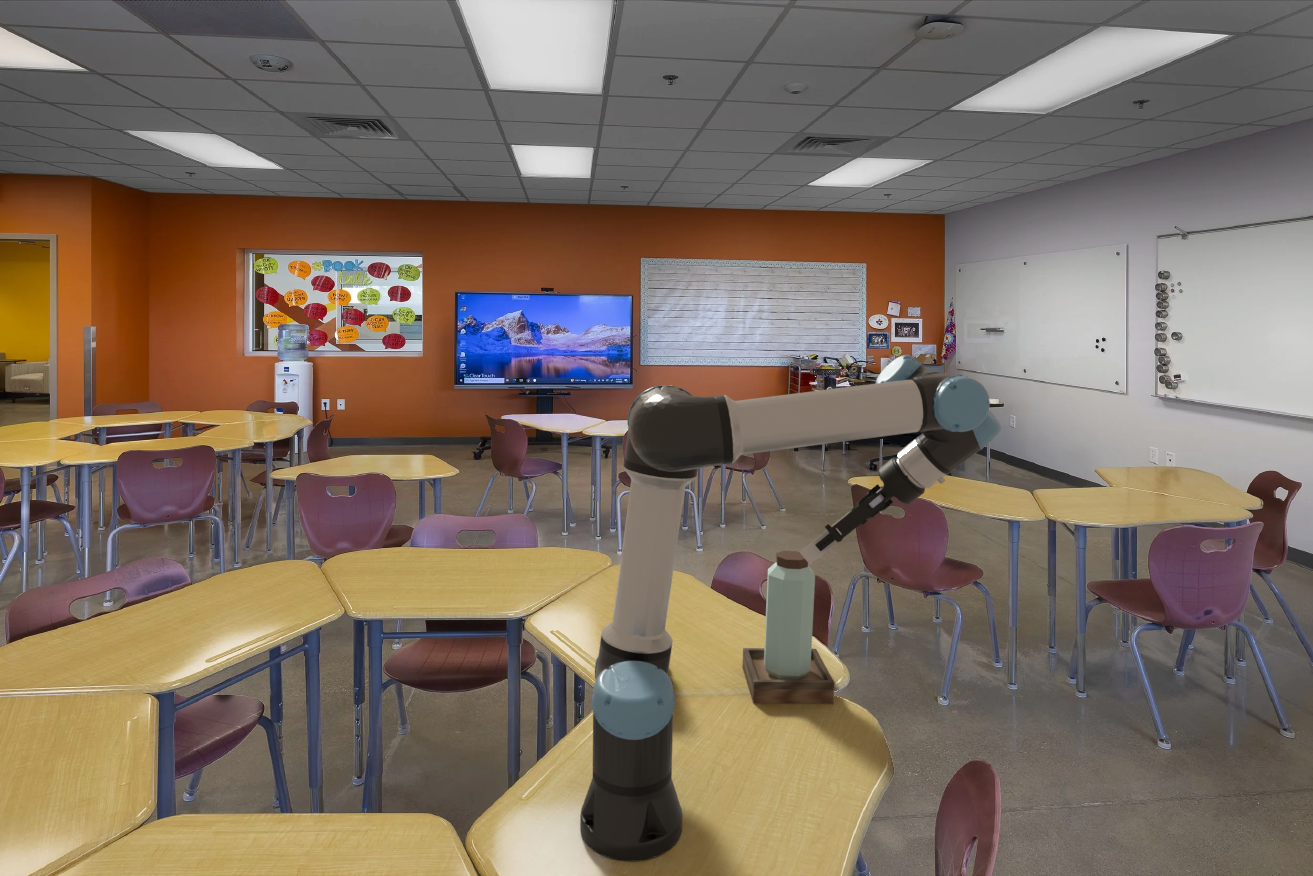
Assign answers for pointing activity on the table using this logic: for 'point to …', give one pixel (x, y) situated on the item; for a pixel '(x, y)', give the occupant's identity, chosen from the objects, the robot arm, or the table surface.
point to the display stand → (787, 681)
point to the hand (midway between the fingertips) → (816, 548)
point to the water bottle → (789, 616)
